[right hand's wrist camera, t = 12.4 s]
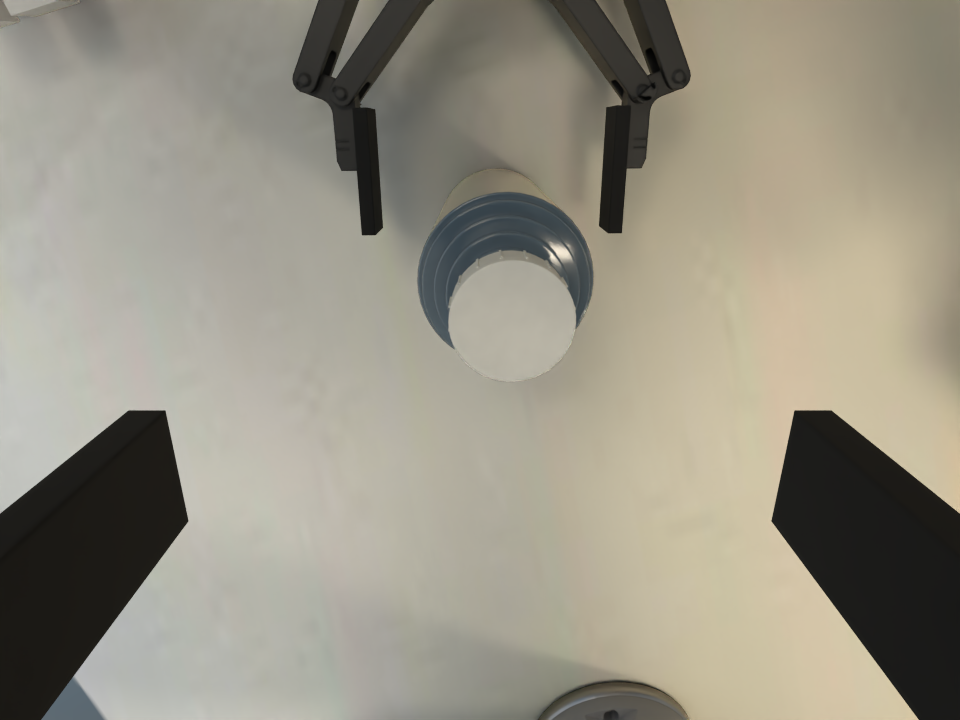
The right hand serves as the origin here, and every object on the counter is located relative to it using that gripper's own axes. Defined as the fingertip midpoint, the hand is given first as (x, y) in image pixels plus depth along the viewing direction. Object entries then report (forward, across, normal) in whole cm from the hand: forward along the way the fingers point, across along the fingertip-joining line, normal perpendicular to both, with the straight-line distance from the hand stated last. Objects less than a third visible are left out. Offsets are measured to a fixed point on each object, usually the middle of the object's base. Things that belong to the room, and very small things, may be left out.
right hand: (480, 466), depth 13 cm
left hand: (+24, +1, +1) cm, 24 cm away
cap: (+8, +1, +1) cm, 8 cm away
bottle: (+30, +1, +1) cm, 30 cm away
